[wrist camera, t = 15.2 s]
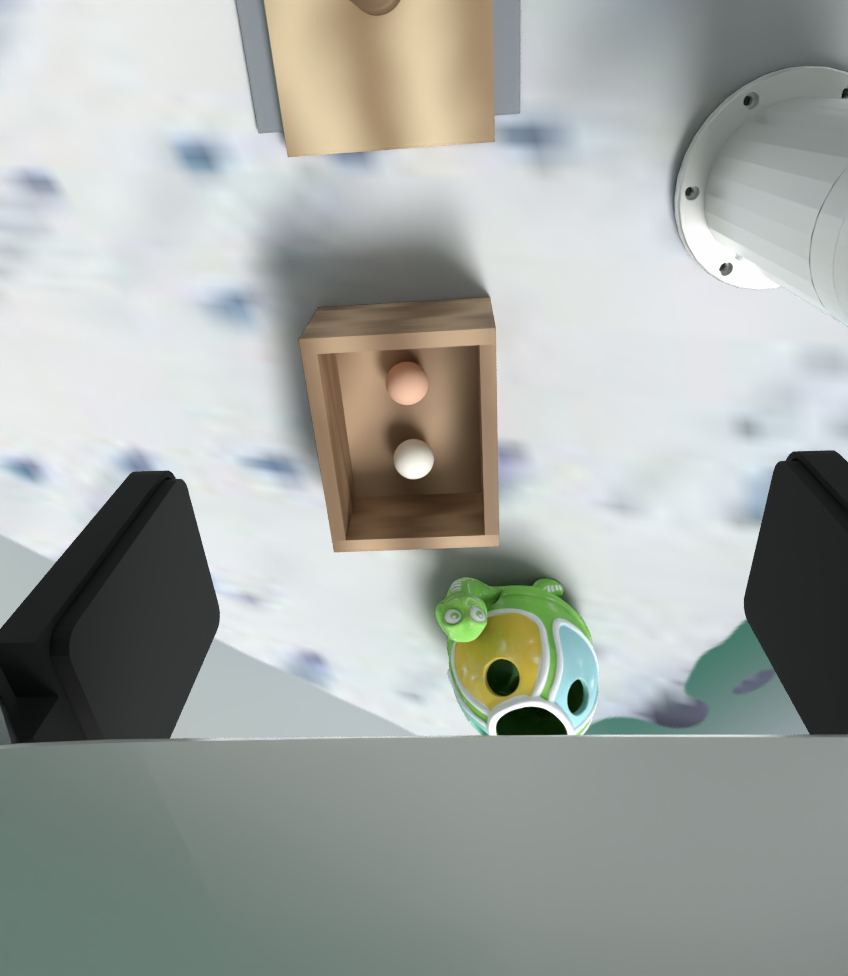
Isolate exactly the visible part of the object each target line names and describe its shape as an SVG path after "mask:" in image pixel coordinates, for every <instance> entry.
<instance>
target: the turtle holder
mask: <svg viewBox="0 0 848 976" xmlns="http://www.w3.org/2000/svg"><path fill="white" fill-rule="evenodd" d="M562 594H563V587H562V585H561V584H560V583H558V582H557V581H555V580H552V579H548V578H542V579H538V580H537V581H535V582H534V583H533V585H532V586H523V585H512V586H499V587H493V586H489V585H487V584H485V583H483V582H481V581H479V580H477V579H474V578H469V577H463V578H460V579H457V580H456V581H454V582H453V583H452V585H451V586H450V588H449V590H448V592H447V596H446V598H444V599H443V600H442V601H440V602H439V603H438V605H437V606H436V609H435V615H436V619H437V621H438V624H439V625H440V627H441V629H442V630H443V632H444V633H445V634H446V635H447V636H448V639H447V649H448V655H449V670H448V672H447V675H448V679H449V681H450V683H451V685H452V687H453V690H454V693H455V696H456V699H457V701H458V703H459V705H460V707H461V709H462V711H463V713H464V715H465V716H466V718H467V720H468V721H469V722H470V724H471V725H472V726H473V727H474V728H475V729H476V730H477V731H478V732H479V733H480V734H481V735H482V736H485V735H583V734H584V733H585V731H586V730H587V728H588V727H589V725H590V723H591V721H592V718H593V714H594V712H595V709H596V706H597V702H598V697H599V665H598V660H597V656H596V653H595V650H594V648H593V645H592V639H591V635H590V632H589V630H588V628H587V626H586V624H585V622H584V621H583V619H582V618H581V617H580V615H579V614H578V613H577V612H576V611H575V610H574V609H573V608H572V607H571V606H570V605H569V604H568V603H566V602H565V601H563V600H562V599H561V598H559V597H560V596H561V595H562Z"/></svg>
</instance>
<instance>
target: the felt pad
mask: <svg viewBox="0 0 848 976" xmlns="http://www.w3.org/2000/svg"><path fill="white" fill-rule="evenodd" d="M236 3H237V8H238V14H239V20H240V26H241V32H242V38H243V44H244V50H245V56H246V62H247V67H248V73H249V79H250V85H251V91H252V97H253V103H254V109H255V115H256V121H257V126H258V132H259V133H271V132H284V129H283V122H282V115H281V109H280V102H279V96H278V89H277V83H276V76H275V70H274V63H273V57H272V50H271V43H270V37H269V30H268V24H267V17H266V11H265V4H264V0H236ZM493 60H494V115H506V114H519V113H520V0H493Z"/></svg>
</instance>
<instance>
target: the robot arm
mask: <svg viewBox="0 0 848 976" xmlns="http://www.w3.org/2000/svg"><path fill="white" fill-rule="evenodd" d="M844 89H845V90H846V94H845V96H844V97H843V98H842V92H843V90H844ZM746 96H749V98H750V101H749V103H748V104H747V105H744V103H743V101H744V98H745V97H746ZM688 187H691V188H692V191H691V193H690V194H689V195H686V194H685V191H686V189H687V188H688ZM674 200H675V219H676V223H677V228H678V232H679V236H680V238H681V240H682V242H683V244H684V246H685V249H686V251H687V252H688V253H689V255H690V256H691V257H692V258H693V260H694V261H695V262H696V264H697V265H699V266H700V267H701V268H702V269H703V270H704V271H706V272H707V273H708V274H710V275H711V276H713V277H714V278H716V279H717V280H719V281H721V282H723V283H726V284H729V285H732V286H735V287H737V288H744V289H752V290H764V289H776V288H780V287H782V288H784V289H785V290H787V291H789V292H790V293H792V294H793V295H795V296H797V297H798V298H800V299H802V300H803V301H805V302H807V303H808V304H810V305H811V306H813V307H815V308H816V309H818V310H820V311H821V312H823V313H824V314H826V315H828V316H829V317H831V318H833V319H834V320H836V321H838V322H840V323H841V324H843V325H845V326H847V327H848V73H847V72H845V71H841V70H837V69H833V68H830V67H823V66H800V67H791V68H786V69H782V70H779V71H775V72H772V73H768V74H766V75H763V76H761V77H759V78H757V79H755V80H753V81H751V82H749V83H747V84H745V85H744V86H743V87H741V88H740V89H739V90H737V91H736V92H734V93H733V94H732V95H730V96H729V97H728V98H726V99H725V100H724V101H723V102H722V103H721V104H720V105H719V106H718V107H717V108H716V109H715V110H714V111H713V112H712V113H711V114H710V115H709V116H708V118H707V119H706V121H705V122H704V123H703V125H702V126H701V127H700V129H699V130H698V131H697V133H696V134H695V136H694V138H693V140H692V142H691V144H690V146H689V148H688V149H687V151H686V153H685V155H684V158H683V161H682V164H681V167H680V170H679V173H678V177H677V183H676V190H675V196H674ZM723 263H725V267H724V268H723V269H721V270H719V268H720V266H721V265H722V264H723ZM744 610H745V615H746V618H747V621H748V623H749V624H750V626H751V628H752V630H753V632H754V634H755V635H756V637H757V639H758V641H759V642H760V644H761V646H762V648H763V650H764V652H765V654H766V655H767V657H768V659H769V661H770V662H771V664H772V666H773V668H774V670H775V672H776V674H777V675H778V677H779V679H780V681H781V683H782V684H783V686H784V688H785V690H786V692H787V694H788V695H789V697H790V699H791V701H792V703H793V704H794V706H795V708H796V710H797V712H798V713H799V715H800V717H801V719H802V721H803V723H804V724H805V726H806V728H807V730H808V732H809V733H810V735H485V736H364V737H362V736H360V737H359V736H358V737H280V738H279V737H274V738H273V737H272V738H271V737H270V738H190V739H188V738H184V739H170V737H171V734H172V732H173V730H174V728H175V726H176V723H177V721H178V719H179V716H180V714H181V712H182V709H183V707H184V705H185V703H186V700H187V698H188V696H189V693H190V691H191V689H192V686H193V684H194V682H195V679H196V677H197V675H198V672H199V670H200V668H201V666H202V664H203V661H204V659H205V657H206V654H207V652H208V650H209V648H210V645H211V643H212V640H213V638H214V636H215V634H216V631H217V629H218V626H219V619H220V611H219V605H218V601H217V597H216V594H215V590H214V586H213V582H212V579H211V575H210V571H209V567H208V564H207V560H206V556H205V552H204V549H203V545H202V541H201V537H200V534H199V530H198V526H197V522H196V518H195V515H194V511H193V507H192V503H191V500H190V496H189V492H188V488H187V486H186V483H185V482H184V481H183V480H182V479H176V478H175V476H174V475H173V473H172V472H170V471H142V472H132V473H131V474H130V475H129V476H128V477H127V478H126V479H125V481H124V482H123V483H122V484H121V485H120V487H119V488H118V489H117V490H116V491H115V493H114V494H113V495H112V496H111V497H110V498H109V500H108V501H107V502H106V503H105V504H104V506H103V507H102V508H101V509H100V510H99V512H98V513H97V514H96V515H95V516H94V518H93V519H92V520H91V521H90V522H89V524H88V525H87V526H86V527H85V528H84V530H83V531H82V532H81V533H80V534H79V536H78V537H77V538H76V539H75V540H74V541H73V543H72V544H71V545H70V546H69V547H68V549H67V550H66V551H65V552H64V553H63V555H62V556H61V557H60V558H59V559H58V561H57V562H56V563H55V564H54V565H53V567H52V568H51V569H50V570H49V571H48V573H47V574H46V575H45V576H44V577H43V579H42V580H41V581H40V582H39V583H38V585H37V586H36V587H35V588H34V589H33V590H32V592H31V593H30V594H29V595H28V597H27V598H26V599H25V600H24V601H23V603H22V604H21V605H20V606H19V607H18V608H17V610H16V611H15V612H14V613H13V615H12V616H11V617H10V618H9V619H8V620H7V622H6V623H5V624H4V625H3V626H2V628H1V629H0V976H848V462H847V461H846V460H845V459H844V458H843V457H842V456H841V455H840V454H839V453H837V452H835V451H797V452H792V453H791V454H790V455H789V456H788V458H787V459H786V461H780V462H778V463H777V465H776V466H775V469H774V472H773V476H772V480H771V484H770V489H769V493H768V497H767V502H766V506H765V510H764V515H763V519H762V523H761V528H760V532H759V536H758V540H757V545H756V549H755V553H754V558H753V562H752V566H751V571H750V575H749V579H748V583H747V588H746V592H745V597H744Z"/></svg>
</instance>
